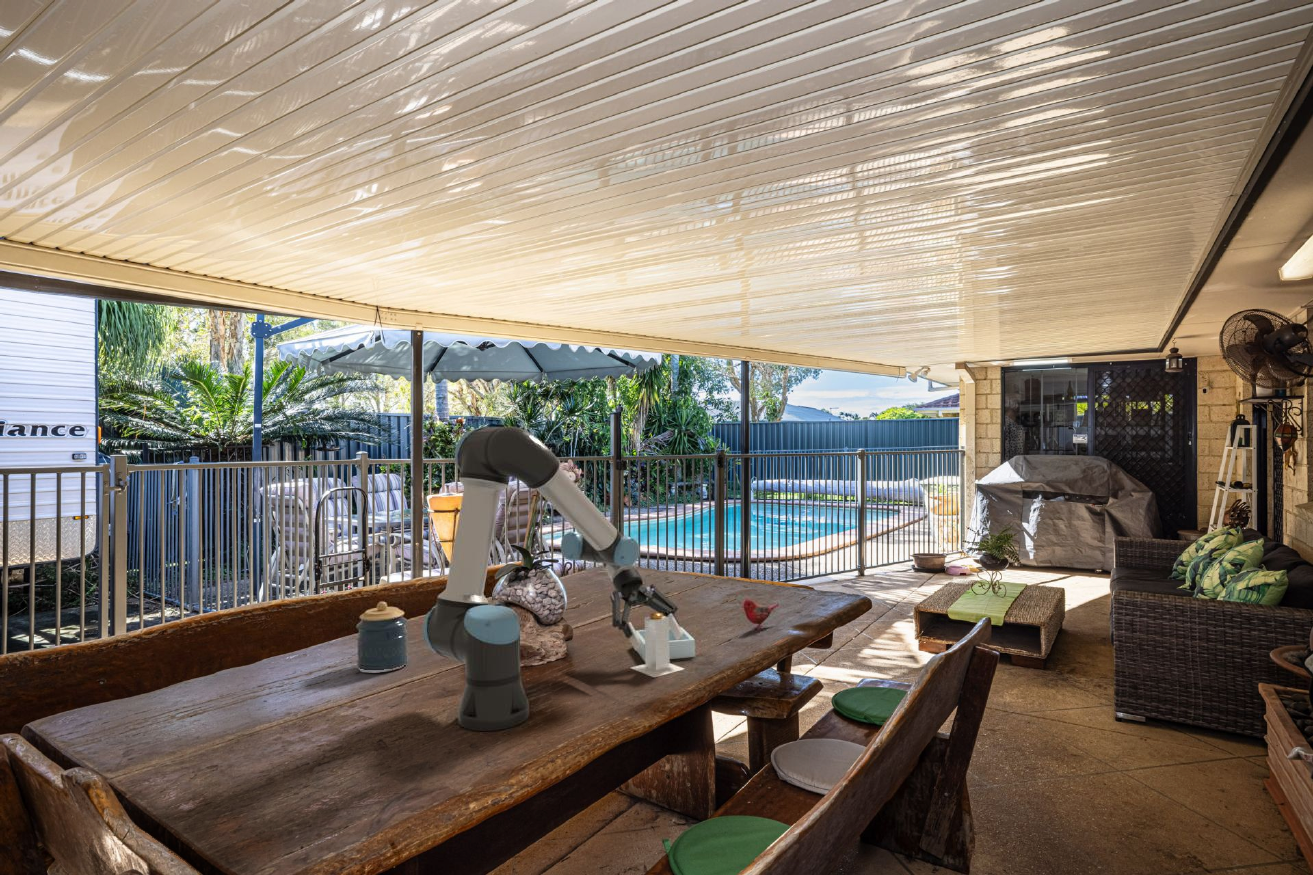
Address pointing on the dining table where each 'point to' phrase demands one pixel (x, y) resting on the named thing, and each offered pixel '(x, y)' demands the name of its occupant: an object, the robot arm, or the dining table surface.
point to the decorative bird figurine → (757, 612)
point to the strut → (657, 642)
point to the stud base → (655, 674)
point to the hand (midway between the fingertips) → (659, 642)
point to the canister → (382, 638)
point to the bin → (672, 645)
